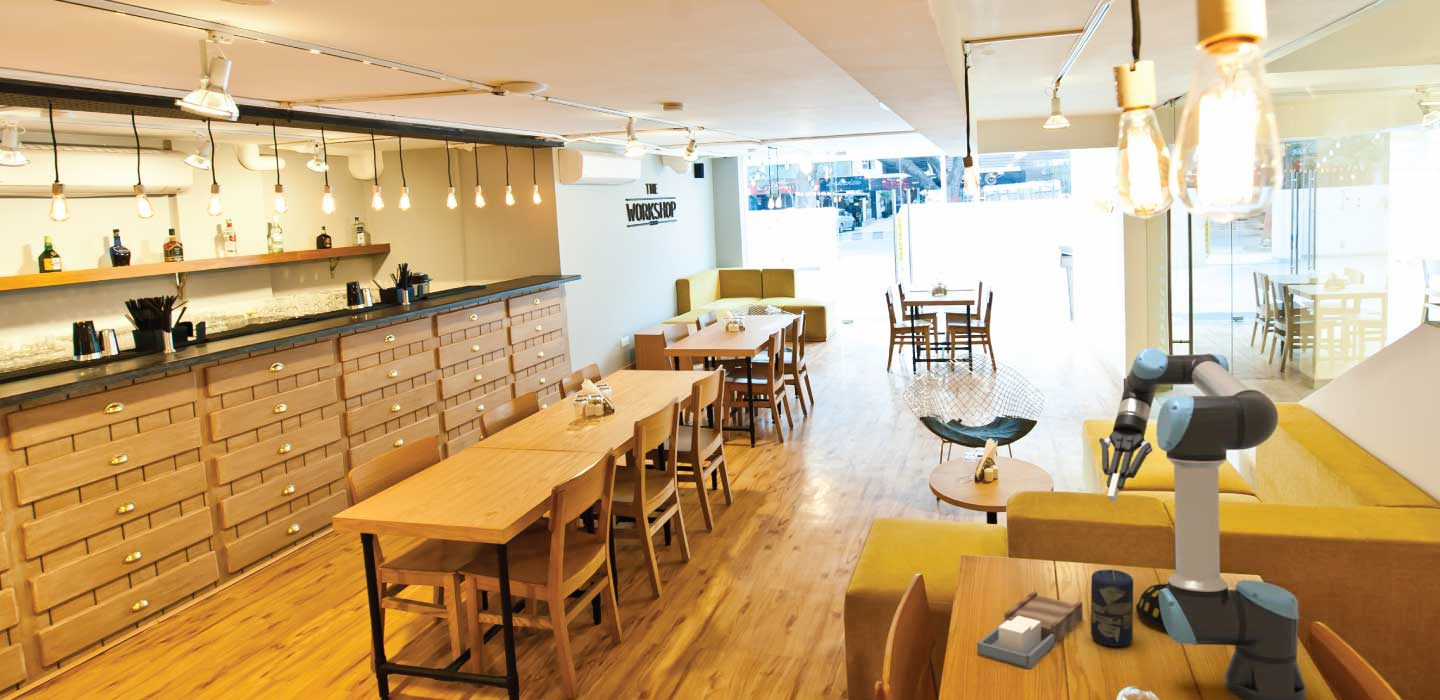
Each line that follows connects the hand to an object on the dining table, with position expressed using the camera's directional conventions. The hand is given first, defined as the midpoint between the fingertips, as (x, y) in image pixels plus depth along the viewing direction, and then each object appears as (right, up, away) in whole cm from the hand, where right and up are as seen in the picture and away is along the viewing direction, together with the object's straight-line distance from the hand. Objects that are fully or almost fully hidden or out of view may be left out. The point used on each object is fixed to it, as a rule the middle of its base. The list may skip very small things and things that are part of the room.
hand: (1111, 498), depth 232 cm
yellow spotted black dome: (+19, -33, +7) cm, 38 cm away
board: (-14, -34, +8) cm, 38 cm away
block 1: (-24, -33, -4) cm, 41 cm away
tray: (-25, -36, -4) cm, 44 cm away
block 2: (-22, -35, -1) cm, 42 cm away
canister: (-1, -35, -2) cm, 35 cm away
